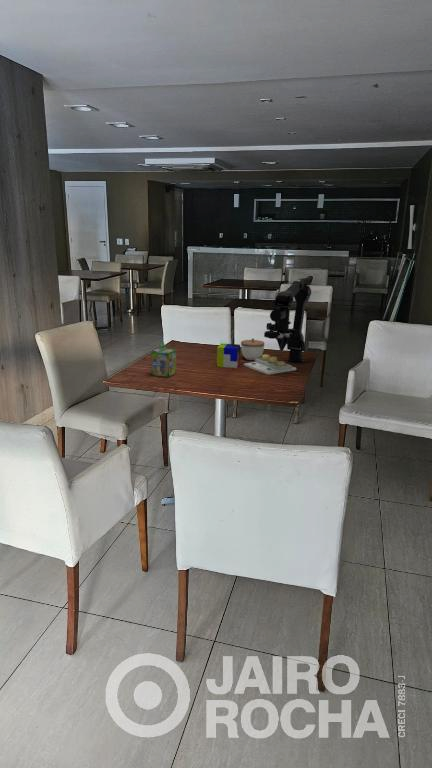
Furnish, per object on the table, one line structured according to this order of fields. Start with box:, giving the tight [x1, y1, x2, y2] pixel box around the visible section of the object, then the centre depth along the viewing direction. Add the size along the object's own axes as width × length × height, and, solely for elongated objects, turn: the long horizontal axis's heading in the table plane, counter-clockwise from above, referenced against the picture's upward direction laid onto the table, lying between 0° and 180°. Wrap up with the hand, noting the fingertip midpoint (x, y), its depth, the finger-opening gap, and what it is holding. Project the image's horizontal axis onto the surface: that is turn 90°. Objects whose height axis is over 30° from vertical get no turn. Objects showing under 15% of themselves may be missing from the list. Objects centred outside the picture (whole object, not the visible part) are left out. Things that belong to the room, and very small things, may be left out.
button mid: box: [269, 356, 278, 364], centre depth 251 cm, size 4×4×3 cm
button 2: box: [277, 360, 286, 367], centre depth 246 cm, size 4×4×3 cm
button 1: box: [261, 353, 270, 361], centre depth 255 cm, size 4×4×3 cm
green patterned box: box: [150, 342, 177, 378], centre depth 233 cm, size 9×9×15 cm
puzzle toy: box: [216, 343, 241, 369], centre depth 253 cm, size 10×10×10 cm
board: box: [243, 357, 297, 376], centre depth 250 cm, size 18×20×3 cm
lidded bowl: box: [240, 338, 265, 361], centre depth 267 cm, size 13×13×11 cm
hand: (281, 350), depth 244 cm, fingers closed
